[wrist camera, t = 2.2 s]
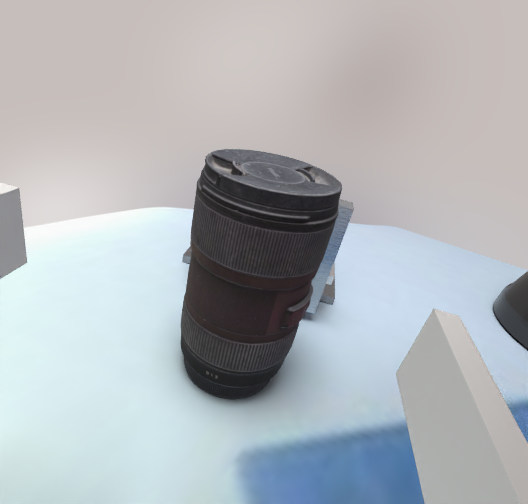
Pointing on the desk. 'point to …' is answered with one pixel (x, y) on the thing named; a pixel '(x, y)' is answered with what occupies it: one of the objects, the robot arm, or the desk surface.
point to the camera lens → (252, 265)
